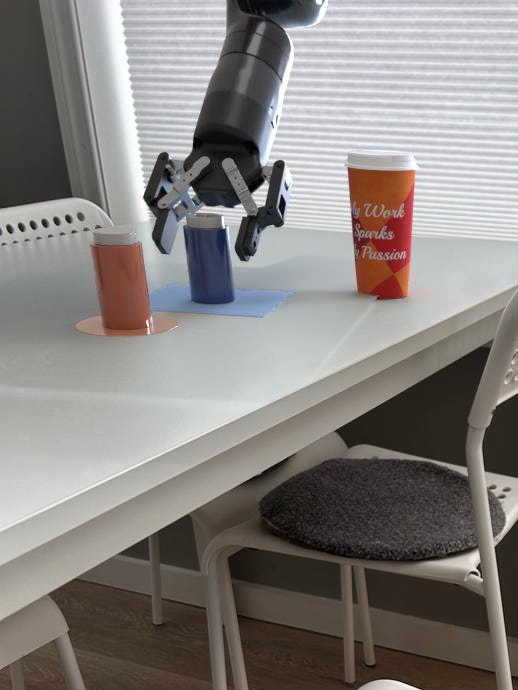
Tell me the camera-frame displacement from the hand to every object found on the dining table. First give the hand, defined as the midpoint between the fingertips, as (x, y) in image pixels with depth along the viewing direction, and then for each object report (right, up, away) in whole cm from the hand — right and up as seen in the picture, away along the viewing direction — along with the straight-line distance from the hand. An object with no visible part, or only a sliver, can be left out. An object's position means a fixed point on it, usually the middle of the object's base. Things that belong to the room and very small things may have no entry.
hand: (201, 252), depth 94 cm
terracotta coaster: (-5, -10, -6) cm, 12 cm away
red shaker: (-5, -9, -6) cm, 12 cm away
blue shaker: (0, -3, +4) cm, 5 cm away
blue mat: (0, -4, +4) cm, 5 cm away
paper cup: (+17, 0, +12) cm, 20 cm away
